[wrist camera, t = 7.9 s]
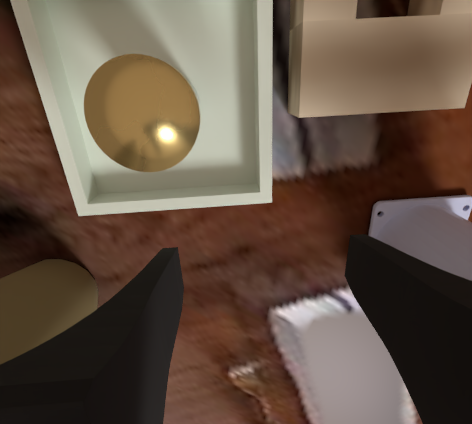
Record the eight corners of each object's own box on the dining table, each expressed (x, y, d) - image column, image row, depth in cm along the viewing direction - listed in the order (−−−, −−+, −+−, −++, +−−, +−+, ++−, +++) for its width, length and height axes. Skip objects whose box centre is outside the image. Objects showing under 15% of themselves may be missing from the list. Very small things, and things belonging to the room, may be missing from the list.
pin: (209, 133, 19) (203, 170, 11) (148, 134, 19) (97, 174, 11) (205, 65, 17) (194, 52, 9) (139, 67, 17) (70, 54, 9)
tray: (266, 189, 22) (271, 202, 19) (93, 201, 21) (78, 216, 19) (264, -25, 16) (272, -43, 14) (31, -15, 16) (0, -32, 13)
